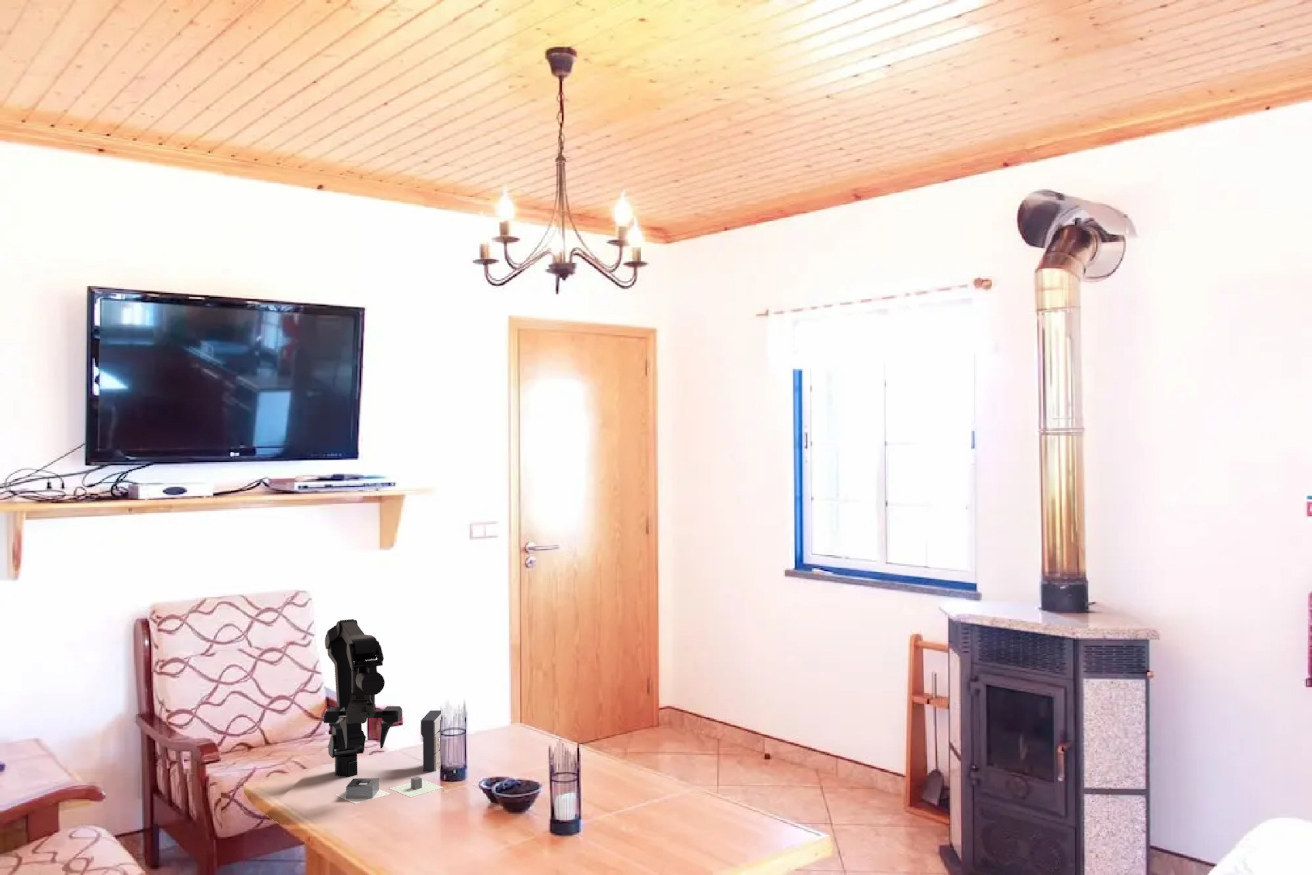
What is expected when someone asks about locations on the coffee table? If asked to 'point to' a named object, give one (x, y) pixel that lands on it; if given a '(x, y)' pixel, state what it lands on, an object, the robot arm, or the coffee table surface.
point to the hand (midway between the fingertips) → (363, 748)
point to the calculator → (431, 740)
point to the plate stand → (355, 801)
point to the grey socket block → (362, 788)
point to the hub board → (416, 792)
